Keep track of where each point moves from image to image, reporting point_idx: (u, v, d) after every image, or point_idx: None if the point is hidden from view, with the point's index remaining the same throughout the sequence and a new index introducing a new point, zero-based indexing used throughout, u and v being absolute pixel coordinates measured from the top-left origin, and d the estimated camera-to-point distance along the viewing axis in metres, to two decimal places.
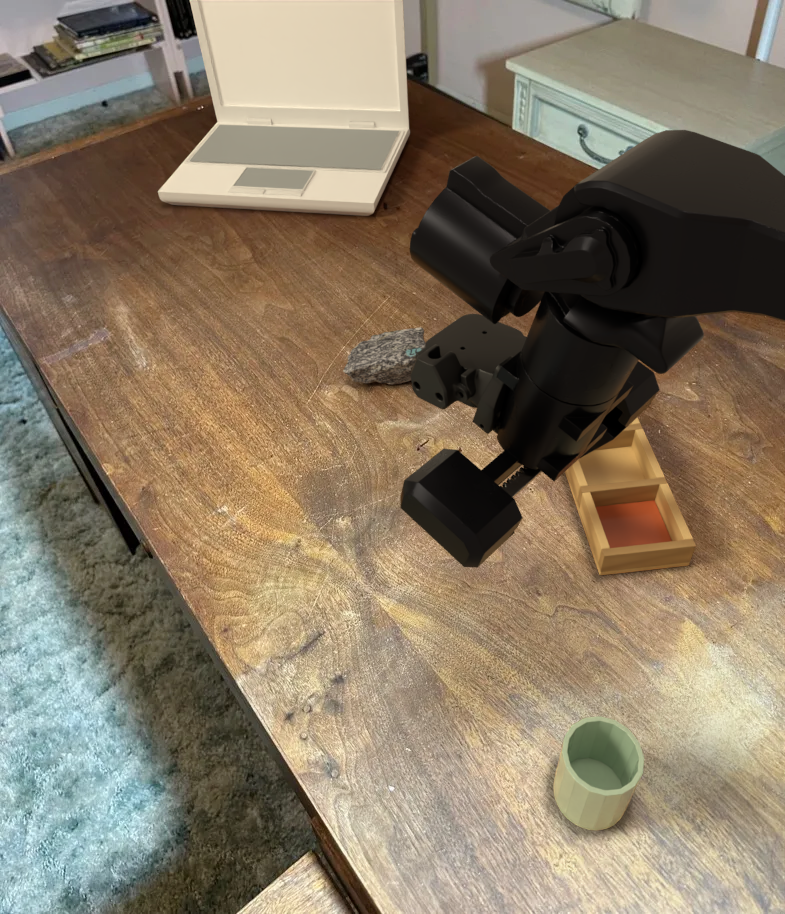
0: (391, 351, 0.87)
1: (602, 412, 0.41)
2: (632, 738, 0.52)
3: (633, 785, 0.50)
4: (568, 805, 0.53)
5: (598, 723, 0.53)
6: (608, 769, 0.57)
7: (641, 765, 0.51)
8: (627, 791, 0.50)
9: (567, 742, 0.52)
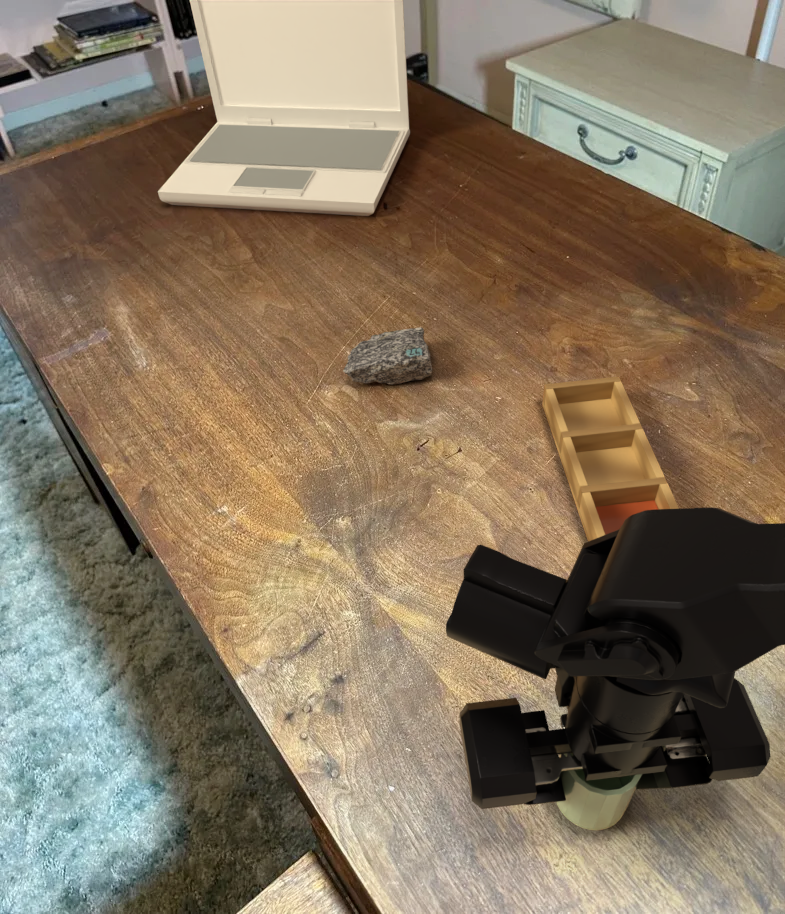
0: (391, 351, 0.87)
1: (629, 742, 0.43)
2: None
3: (633, 785, 0.50)
4: (568, 805, 0.53)
5: None
6: None
7: None
8: (627, 791, 0.50)
9: None
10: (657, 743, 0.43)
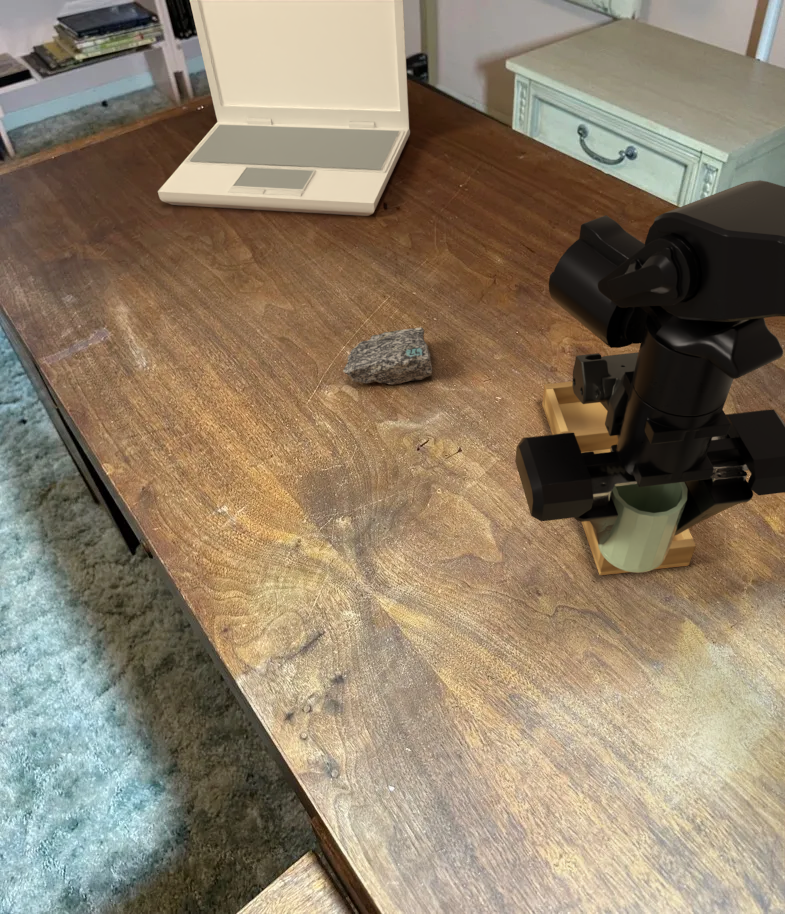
0: (390, 351, 0.87)
1: (683, 429, 0.47)
2: None
3: (678, 508, 0.54)
4: (614, 545, 0.57)
5: None
6: None
7: (685, 494, 0.54)
8: (673, 513, 0.53)
9: None
10: (708, 433, 0.47)
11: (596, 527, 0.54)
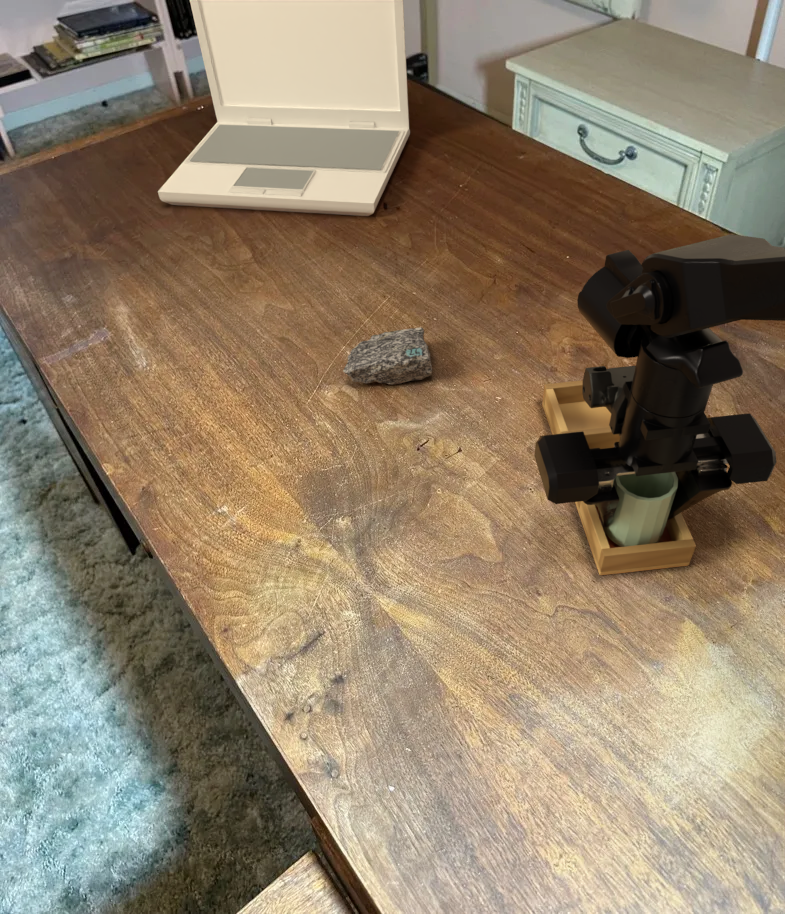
0: (390, 351, 0.87)
1: (672, 428, 0.58)
2: None
3: (670, 494, 0.64)
4: (617, 526, 0.68)
5: None
6: None
7: (676, 483, 0.65)
8: (665, 499, 0.64)
9: None
10: (692, 431, 0.58)
11: (601, 510, 0.65)
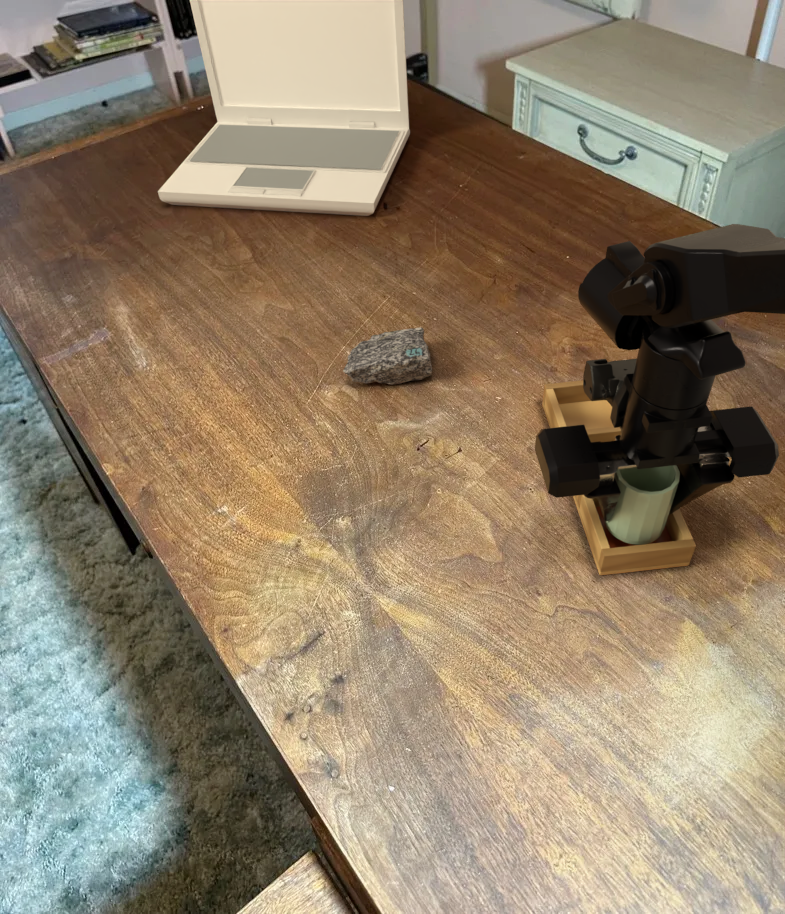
0: (390, 351, 0.87)
1: (673, 420, 0.57)
2: None
3: (672, 488, 0.64)
4: (618, 520, 0.68)
5: None
6: None
7: (677, 476, 0.65)
8: (667, 492, 0.64)
9: None
10: (694, 424, 0.58)
11: (602, 504, 0.65)
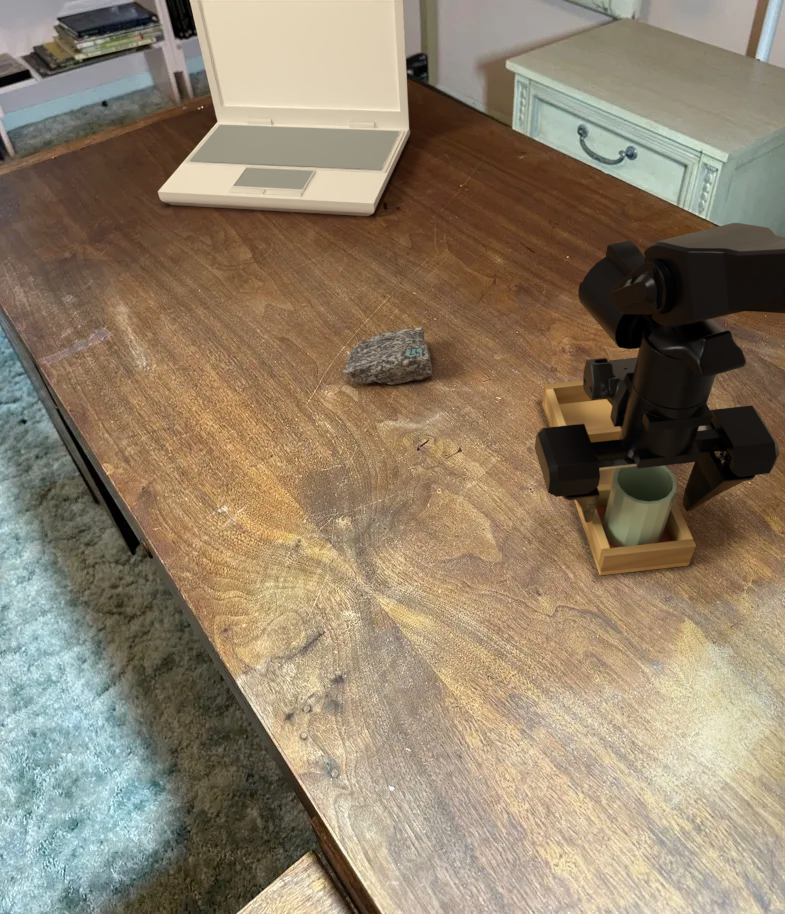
0: (391, 351, 0.87)
1: (674, 419, 0.57)
2: (667, 470, 0.67)
3: (669, 498, 0.65)
4: (616, 529, 0.69)
5: None
6: None
7: (675, 486, 0.66)
8: (664, 502, 0.65)
9: (617, 474, 0.67)
10: (694, 423, 0.58)
11: (582, 505, 0.64)
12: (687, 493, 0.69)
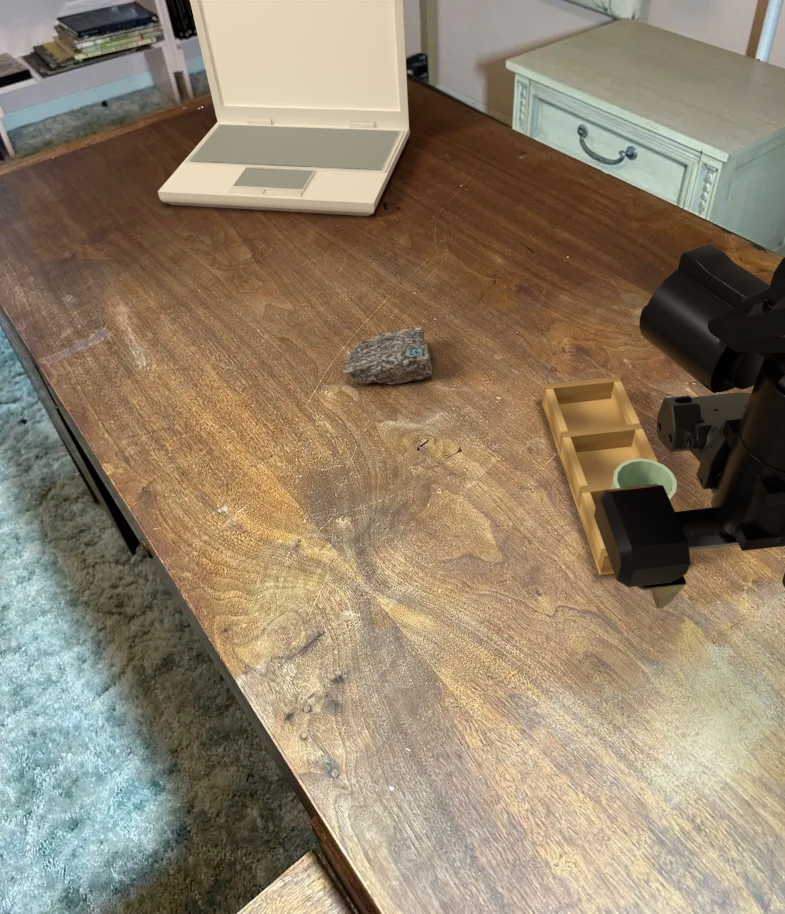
0: (390, 351, 0.87)
1: None
2: (667, 470, 0.67)
3: (669, 498, 0.65)
4: None
5: (640, 464, 0.68)
6: None
7: (675, 486, 0.66)
8: None
9: (617, 474, 0.67)
10: None
11: (659, 594, 0.48)
12: None
